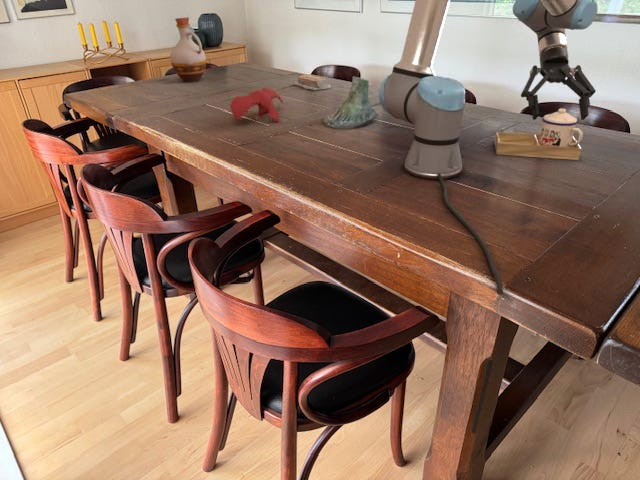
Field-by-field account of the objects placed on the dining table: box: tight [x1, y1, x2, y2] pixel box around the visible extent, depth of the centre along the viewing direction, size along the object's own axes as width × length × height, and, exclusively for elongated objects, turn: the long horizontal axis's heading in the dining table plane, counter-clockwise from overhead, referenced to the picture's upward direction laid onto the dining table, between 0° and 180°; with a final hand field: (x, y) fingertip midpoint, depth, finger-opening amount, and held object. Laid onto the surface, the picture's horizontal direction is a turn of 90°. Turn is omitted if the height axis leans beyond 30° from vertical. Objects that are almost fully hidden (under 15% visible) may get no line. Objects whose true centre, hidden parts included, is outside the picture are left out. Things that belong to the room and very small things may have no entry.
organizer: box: [494, 131, 583, 161], centre depth 134 cm, size 11×22×3 cm, turn 75°
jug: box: [169, 17, 207, 83], centre depth 230 cm, size 20×18×30 cm
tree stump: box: [322, 76, 379, 130], centre depth 164 cm, size 18×20×18 cm
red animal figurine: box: [229, 87, 284, 123], centre depth 168 cm, size 28×9×15 cm
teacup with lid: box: [538, 108, 584, 147], centre depth 130 cm, size 12×9×12 cm
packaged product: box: [293, 73, 331, 92], centre depth 218 cm, size 18×5×10 cm
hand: (560, 117), depth 130 cm, fingers open, 13 cm apart
